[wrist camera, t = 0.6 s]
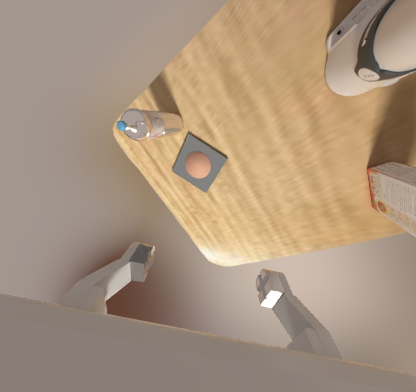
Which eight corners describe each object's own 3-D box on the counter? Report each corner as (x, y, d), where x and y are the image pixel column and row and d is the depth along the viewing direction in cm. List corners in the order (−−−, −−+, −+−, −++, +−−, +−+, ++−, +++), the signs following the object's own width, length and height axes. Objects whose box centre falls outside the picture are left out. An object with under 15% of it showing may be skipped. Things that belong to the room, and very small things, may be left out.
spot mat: (189, 133, 52) (188, 133, 51) (227, 158, 53) (227, 159, 52) (173, 170, 60) (171, 171, 59) (206, 191, 61) (205, 193, 60)
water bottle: (185, 115, 50) (134, 111, 28) (182, 137, 53) (135, 147, 32) (167, 110, 51) (104, 102, 29) (165, 131, 54) (107, 138, 33)
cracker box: (397, 202, 45) (494, 255, 27) (371, 207, 48) (444, 260, 29) (394, 159, 41) (506, 189, 23) (366, 167, 43) (447, 200, 25)
